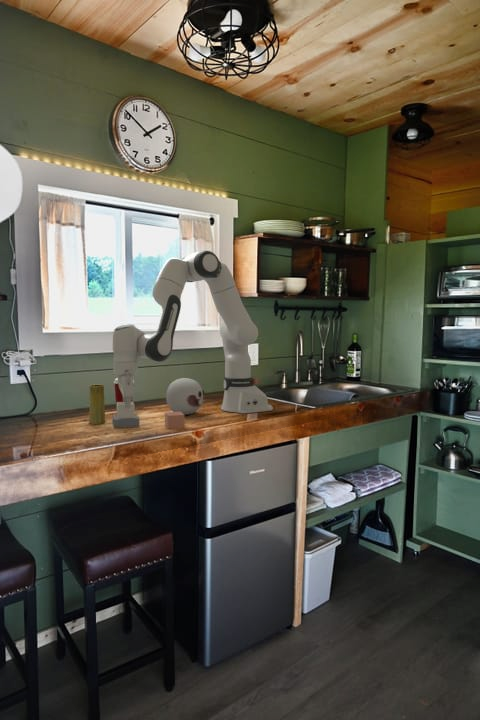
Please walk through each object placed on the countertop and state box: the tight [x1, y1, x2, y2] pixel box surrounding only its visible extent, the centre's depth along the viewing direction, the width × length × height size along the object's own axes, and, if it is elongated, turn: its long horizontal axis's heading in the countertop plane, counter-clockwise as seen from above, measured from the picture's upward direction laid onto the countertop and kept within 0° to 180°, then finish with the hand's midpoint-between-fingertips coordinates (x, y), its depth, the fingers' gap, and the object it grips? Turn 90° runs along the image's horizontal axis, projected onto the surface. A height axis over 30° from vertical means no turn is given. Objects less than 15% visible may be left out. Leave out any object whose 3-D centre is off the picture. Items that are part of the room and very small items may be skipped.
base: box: [111, 412, 140, 429], centre depth 185 cm, size 9×9×3 cm
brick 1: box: [116, 401, 136, 419], centre depth 185 cm, size 6×6×5 cm
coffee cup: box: [113, 377, 135, 411], centre depth 200 cm, size 8×8×15 cm
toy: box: [165, 377, 205, 416], centre depth 204 cm, size 15×15×15 cm
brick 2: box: [164, 411, 185, 430], centre depth 183 cm, size 6×6×5 cm
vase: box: [88, 383, 107, 425], centre depth 187 cm, size 6×6×14 cm
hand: (126, 405), depth 185 cm, fingers open, 8 cm apart
